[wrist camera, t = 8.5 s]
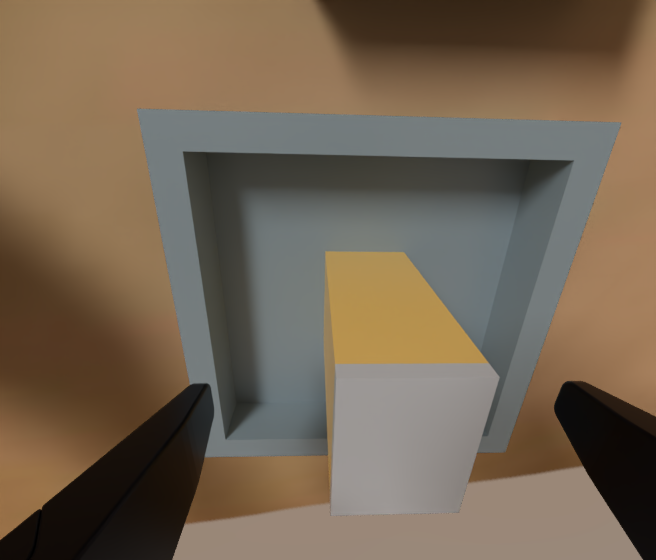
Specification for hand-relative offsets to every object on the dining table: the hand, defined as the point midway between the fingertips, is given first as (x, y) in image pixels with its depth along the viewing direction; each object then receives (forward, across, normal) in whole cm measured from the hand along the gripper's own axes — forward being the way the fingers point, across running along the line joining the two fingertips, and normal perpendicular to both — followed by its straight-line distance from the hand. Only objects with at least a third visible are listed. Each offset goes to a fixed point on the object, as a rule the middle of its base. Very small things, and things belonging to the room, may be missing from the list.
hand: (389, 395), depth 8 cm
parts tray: (+6, 0, 0) cm, 6 cm away
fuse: (+5, 0, 0) cm, 5 cm away
